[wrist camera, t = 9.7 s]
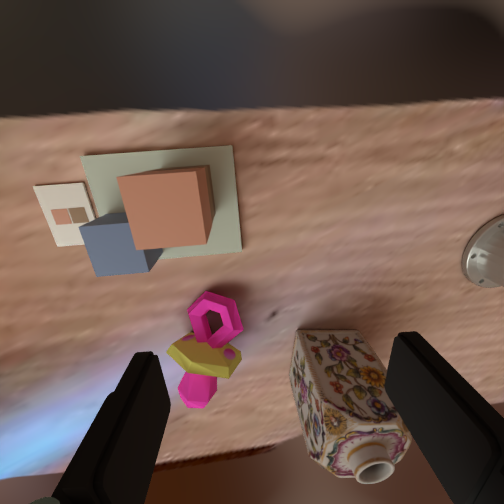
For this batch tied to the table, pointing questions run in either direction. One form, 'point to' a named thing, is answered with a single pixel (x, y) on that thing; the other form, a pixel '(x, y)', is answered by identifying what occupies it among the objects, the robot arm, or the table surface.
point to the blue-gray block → (115, 247)
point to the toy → (207, 349)
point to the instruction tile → (65, 211)
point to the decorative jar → (346, 405)
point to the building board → (218, 157)
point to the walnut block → (209, 184)
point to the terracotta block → (167, 207)
